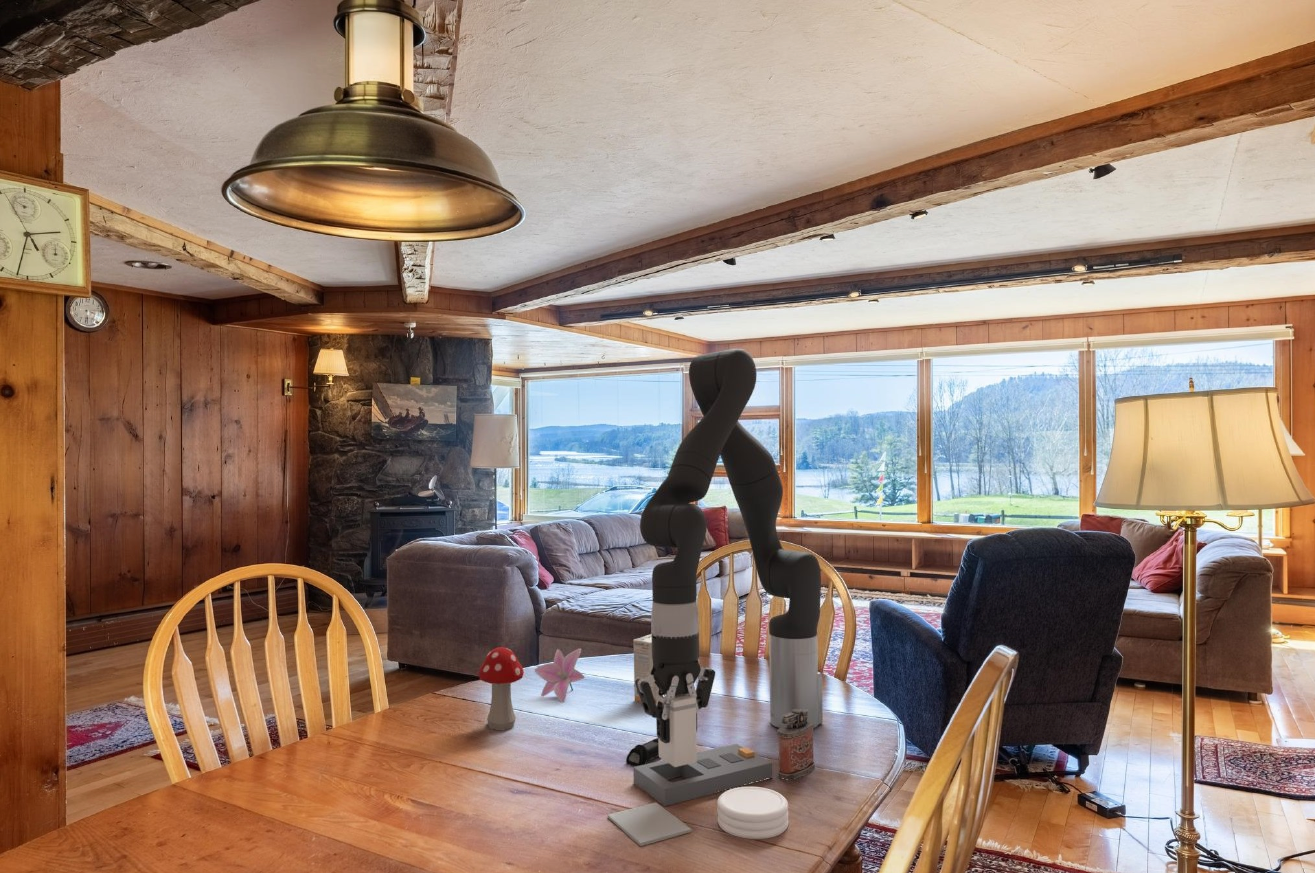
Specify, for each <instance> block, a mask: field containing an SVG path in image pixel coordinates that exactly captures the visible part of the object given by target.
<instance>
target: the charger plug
mask: <svg viewBox="0 0 1315 873" xmlns="http://www.w3.org/2000/svg"><path fill="white" fill-rule="evenodd" d="M664 697H666V695H665V696H664ZM669 709H670V712H669V717H668V719H669V720H670V742H669V743H664V742H662V741H661V740H660V739H659V738H658V737H657V738H658V743H659V755H658V757H659V758H660V759H662V761H663V760H664V761H666V762H668V763H669V764H671V765H672V766H674V767H678V766H682V765H686V764H690V763H694V762H697V753H698V751H697V750H698V749H697V748H698V747H697V746H698V745H697V740H698V739H697V732H696V697H694V696H691V697H690V696H688V694H679V695H677V696H674V700H671V705H670V706H669Z"/></svg>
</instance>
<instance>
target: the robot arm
mask: <svg viewBox="0 0 1315 873" xmlns="http://www.w3.org/2000/svg"><path fill="white" fill-rule="evenodd" d="M688 368H689V369H688V378H689V384H690V387H691V391H692V394H693V396H694V399H695V401H696V403H697V406H698V408H699V410H700V412H701V414H702V416H703V417H701V419H700V420H699V421H698V422H697V423H696V425H694V426H693V428H691V430H690V431H689V432H688V433H687V435H685V437H684V439H683V440H682V441H681V443H680V444H679V446H678V448H677V449H676V452H675V455H674V458H673V461H672V463H671V465H670V469H669V471H668V474H667V477H666V478H665V479H664V480H663V481H662V483H661V484H660V485H659V487H658V488H657V490H656V491H655V492H654V493H653V495H652V496H651V498H650V499H649V500H648V501H647V504H646V505H645V507H644V508H643V510H642V513H641V516H640V521H639V529H640V535H641V537H642V539H643V541H644V542H645V543H646V544H647V545H649V546H651V547H658V548H674V549H675V548H676V549H677V550H676V553H675V555H674V558H673V560H671V561H665V562H661V563H658V564H656V565H655V566H654V567H653V569H652V573H651V582H652V583H651V584H652V585H651V586H652V587H651V588H652V593H651V594H652V603H651V604H652V606H651V615H650V616H651V617H650V619H651V620H650V624H651V627H650V628H651V630H650V631H651V633H650V634H651V635H652V660H653V668H652V670H651V675H649V676H647V677H646V678H644V679H640V678H638V679H637V680H636V681H635V684H636V687H637V690H638V693H639V696H640V699H641V702H640V703H641V705H642V708H643V712H644V713H645V714H646V715H648V716H651V717H652V718H654V719H656V721H655V722H656V724H655V725H656V736H657V737H656V738H659V739H660V740H661V741H662V742H664V743H669V742H670V720H669V719H668V717H669V712H670V709H669V706H670V705H671V700H674V696H677V695H679V694H688V696H690V697H691V696H694V697H696V733H698V713H699V711H700V709H702V708H704V709H705V708H706V707H708V705H709V700H710V697H711V694H712V689H713V685H714V681H715V678H716V671H715V670H714V669H712V668H709V667H708V666H707V667H706V666H701V665H700V663H699V658H700V622H699V621H700V620H699V617H700V616H699V609H698V596H697V594H698V593H697V587H698V586H697V576H698V575H697V574H698V570H699V563H700V559H701V555H702V551H703V548H704V543H705V539H706V536H707V528H708V525H707V524H708V523H707V518H706V515H705V513H704V511H703V509H702V508H701V507H700V506H699V505H697V504H695V503H694V502H698V501H700V500H702V499H704V498H705V497H706V496H707V493H708V491H709V489H710V485H711V482H712V480H713V477H714V474H715V471H716V469H717V465H718V461H719V458H720V459H721V461H722V463H723V466H724V469H725V473H726V476H727V479H728V483H729V484H730V488H731V490H732V493H733V496H734V500H735V502H736V504H737V507H738V508H739V512H740V515H741V517H742V520H743V524H744V526H745V529H746V533H747V536H748V539H749V543H750V548H751V551H752V556H753V560H754V564H755V568H756V572H757V577H758V578H759V582H760V584H761V587H762V588H763V590H764V591H765V592H766V593H767V594H768V595H770V596H773V597H777V598H782V599H783V598H784V599H789V600H788V610H787V611H786V612H785V613H783V614H778V615H776V616H775V615H774V616H773V617H771V618H770V619H769V621H768V622H769V623H768V634H769V635H768V640H769V642H768V645H769V646H768V648H769V649H768V650H769V651H768V652H769V703H770V705H769V710H770V712H769V715H770V716H769V717H770V718H769V719H770V721H769V722H770V724H771V725H772V726H774V727H776V728H778V729H779V728H781V727H782V726H784V725H786V724H783V723H782V717H783V715H785V714H788V713H791V711H792V710H793V709H797V710H801V709H807V710H808V716H807V720H811V721H813V722H814V728H813V729H815V728H817V727H818V726H819V725H820V724H822V723H823V722H824V721H823V717H824V714H823V712H824V711H823V675H822V672H819V671H818V670H819V668H818V667H819V665H818V664H819V662H818V656H819V654H818V624H819V621H820V616H821V597H822V596H821V594H822V592H821V591H822V572H821V565H820V562H819V560H818V558H817V557H816V556H815V554H812V553H811V552H807V551H798V550H788V549H786V550H785V549H784V548H783V546H782V544H781V542H780V538H779V535H778V531H777V520H778V519H777V518H778V516H779V513H780V512H779V511H780V508H781V504H782V501H783V496H784V488H783V483H782V480H781V477H780V474H779V470H778V467H777V465H776V463H775V459H774V458H773V456H772V454H771V453H770V451H769V450H768V449H767V448H766V447H765V446H764V445H763V444H762V443H761V442H760V440H758V439H757V438H756V437H755V436H753V434H752V433H750V432H749V431H748V430H747V429H746V428H745V427H744V426H743V425H742V424H741V423H740V421H739V420H740V417H741V416H742V413H743V412H744V409H745V408H746V406H747V404H748V403H749V401H750V399H751V396H752V395H753V392H754V390H755V387H756V384H757V366H756V364H755V361H754V358H753V357H752V356H751V354H750V353H749V352H748V351H746V350H745V349H743V348H731V349H725V350H720V351H714V352H709V353H704V354H701V355H697V356H695V357H693V359H692V360H691V362H690V364H689V367H688ZM697 679H698V680H697ZM696 681H698V682H697V686H696V687H695V683H696ZM654 682H655V684H656V685H657V687H658V688H657V693H656V700H657V701H656V702H655V700H654V697H653V694H652V691H653V683H654ZM665 695H666V697H664V696H665Z"/></svg>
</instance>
